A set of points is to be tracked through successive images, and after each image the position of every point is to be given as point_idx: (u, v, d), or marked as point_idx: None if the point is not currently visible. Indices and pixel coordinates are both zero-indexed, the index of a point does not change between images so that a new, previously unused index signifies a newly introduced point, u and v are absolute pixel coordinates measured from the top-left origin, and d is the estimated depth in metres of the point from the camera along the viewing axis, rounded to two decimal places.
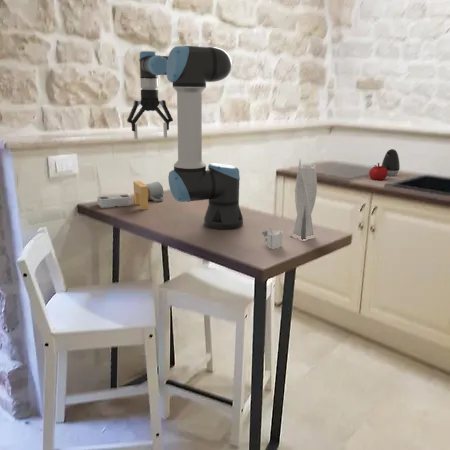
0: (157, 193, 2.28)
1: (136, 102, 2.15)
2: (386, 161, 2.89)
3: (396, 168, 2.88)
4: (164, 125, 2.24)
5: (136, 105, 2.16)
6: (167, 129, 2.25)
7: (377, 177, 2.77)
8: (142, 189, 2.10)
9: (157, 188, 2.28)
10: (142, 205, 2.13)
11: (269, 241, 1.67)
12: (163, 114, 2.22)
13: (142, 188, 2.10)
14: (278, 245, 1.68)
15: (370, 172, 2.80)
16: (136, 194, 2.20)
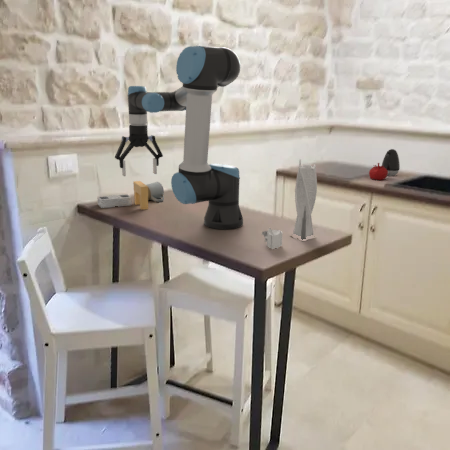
0: (157, 193, 2.28)
1: (124, 138, 2.06)
2: (386, 161, 2.89)
3: (396, 168, 2.88)
4: (154, 161, 2.16)
5: (124, 141, 2.07)
6: (157, 165, 2.16)
7: (377, 177, 2.77)
8: (142, 189, 2.10)
9: (157, 188, 2.28)
10: (142, 205, 2.13)
11: (269, 241, 1.67)
12: (152, 150, 2.13)
13: (142, 188, 2.10)
14: (278, 245, 1.68)
15: (370, 172, 2.80)
16: (136, 194, 2.20)
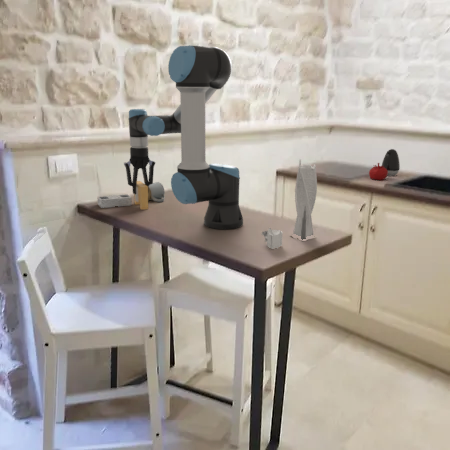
0: (158, 193, 2.28)
1: (126, 165, 2.09)
2: (386, 161, 2.89)
3: (396, 168, 2.88)
4: None
5: (128, 167, 2.10)
6: None
7: (377, 177, 2.77)
8: (142, 189, 2.10)
9: (158, 188, 2.28)
10: (142, 205, 2.13)
11: (269, 241, 1.67)
12: None
13: (142, 188, 2.10)
14: (278, 245, 1.68)
15: (370, 172, 2.80)
16: None
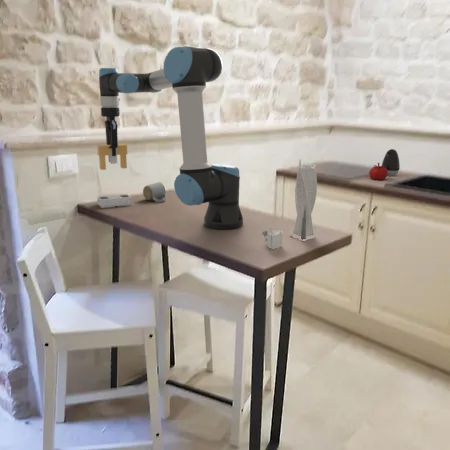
0: (159, 194, 2.27)
1: (105, 123, 2.15)
2: (386, 161, 2.89)
3: (396, 168, 2.88)
4: None
5: (105, 125, 2.15)
6: (112, 155, 2.11)
7: (377, 177, 2.77)
8: (97, 148, 2.12)
9: (159, 189, 2.27)
10: None
11: (269, 241, 1.67)
12: (110, 138, 2.09)
13: (97, 147, 2.11)
14: (278, 245, 1.68)
15: (370, 172, 2.80)
16: (120, 156, 2.17)
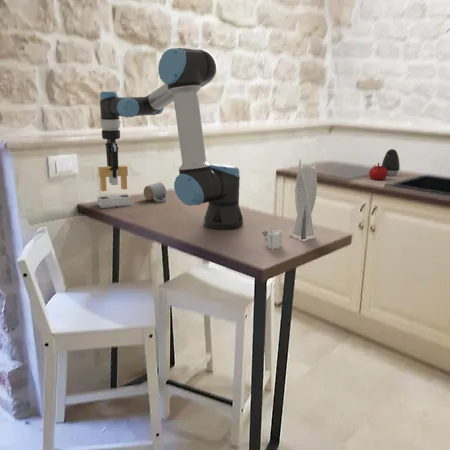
0: (160, 194, 2.27)
1: (105, 144, 2.18)
2: (386, 161, 2.89)
3: (396, 168, 2.88)
4: None
5: (106, 147, 2.17)
6: (112, 176, 2.14)
7: (377, 177, 2.77)
8: (98, 169, 2.14)
9: (160, 189, 2.27)
10: (100, 185, 2.17)
11: (269, 241, 1.67)
12: (111, 160, 2.12)
13: (98, 168, 2.14)
14: (278, 245, 1.68)
15: (370, 172, 2.80)
16: None
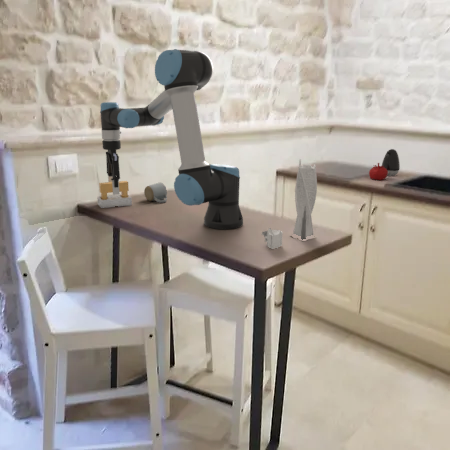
0: (160, 194, 2.27)
1: (106, 153, 2.19)
2: (386, 161, 2.89)
3: (396, 168, 2.88)
4: None
5: (106, 156, 2.19)
6: (114, 186, 2.13)
7: (377, 177, 2.77)
8: (99, 185, 2.16)
9: (160, 189, 2.26)
10: None
11: (269, 241, 1.67)
12: (112, 169, 2.12)
13: (99, 184, 2.16)
14: (278, 245, 1.68)
15: (370, 172, 2.80)
16: (121, 193, 2.21)
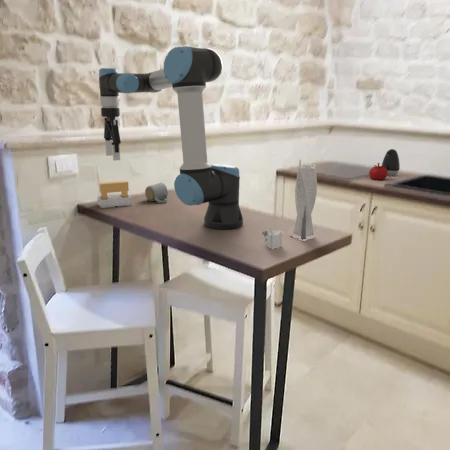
0: (161, 194, 2.26)
1: (104, 119, 2.15)
2: (386, 161, 2.89)
3: (396, 168, 2.88)
4: None
5: None
6: (115, 151, 2.06)
7: (377, 177, 2.77)
8: (99, 185, 2.16)
9: (161, 189, 2.26)
10: None
11: (269, 241, 1.67)
12: (112, 134, 2.06)
13: (99, 184, 2.16)
14: (278, 245, 1.68)
15: (370, 172, 2.80)
16: (121, 193, 2.21)
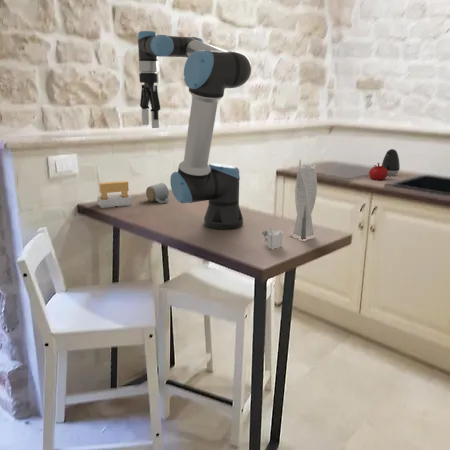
0: (162, 194, 2.26)
1: (141, 86, 2.07)
2: (386, 161, 2.89)
3: (396, 168, 2.88)
4: None
5: (142, 89, 2.07)
6: (154, 118, 1.99)
7: (377, 177, 2.77)
8: (99, 185, 2.16)
9: (162, 189, 2.26)
10: None
11: (269, 241, 1.67)
12: (151, 101, 1.98)
13: (99, 184, 2.16)
14: (278, 245, 1.68)
15: (370, 172, 2.80)
16: (121, 193, 2.21)
